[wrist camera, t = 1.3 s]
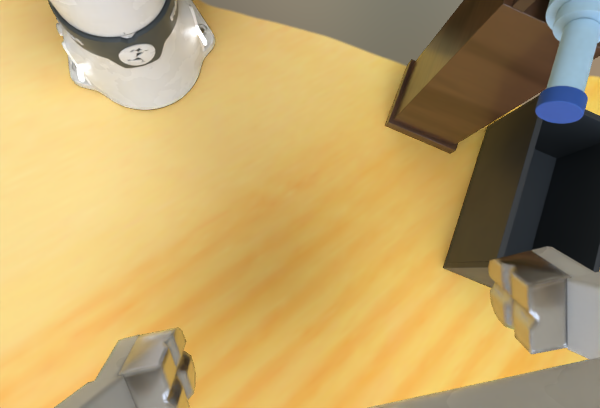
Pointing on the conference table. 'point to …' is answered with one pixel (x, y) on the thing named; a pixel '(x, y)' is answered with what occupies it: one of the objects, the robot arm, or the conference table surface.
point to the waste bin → (531, 193)
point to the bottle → (570, 59)
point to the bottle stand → (475, 71)
